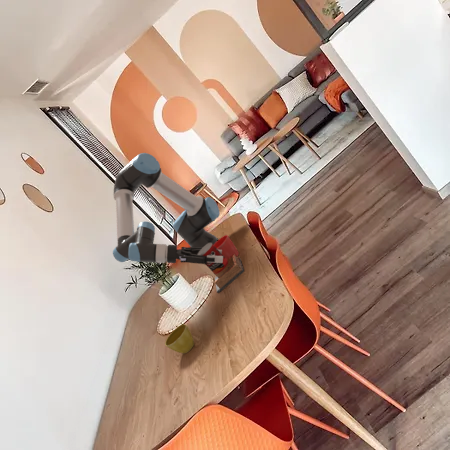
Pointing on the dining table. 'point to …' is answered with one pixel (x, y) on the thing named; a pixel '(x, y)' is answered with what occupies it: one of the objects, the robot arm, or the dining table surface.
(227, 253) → the flower pot
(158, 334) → the dining table surface
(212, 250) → the canned food
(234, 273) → the brown grey tray
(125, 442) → the dining table surface
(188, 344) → the flower pot
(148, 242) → the robot arm
